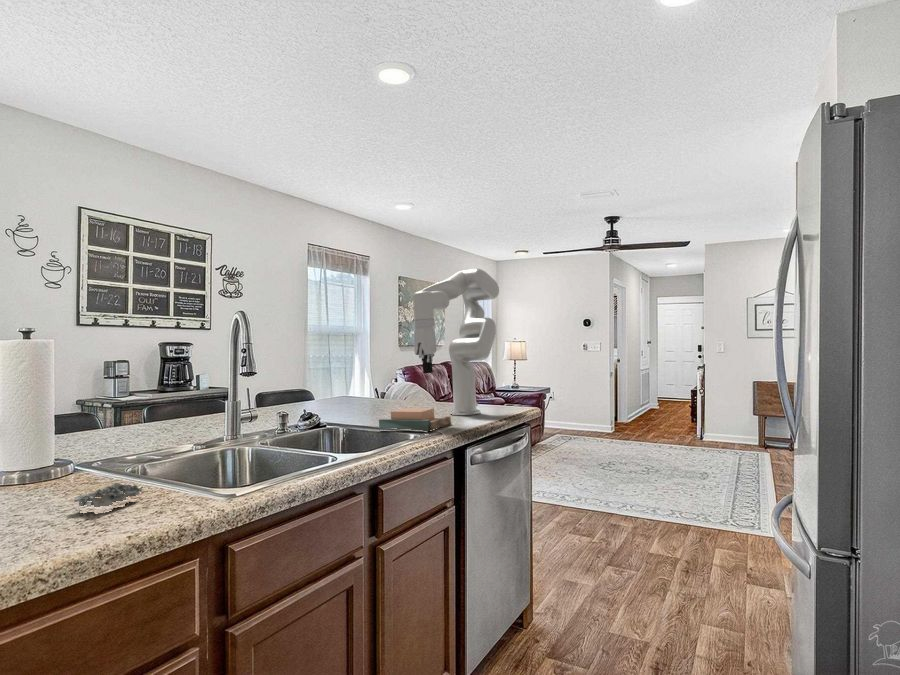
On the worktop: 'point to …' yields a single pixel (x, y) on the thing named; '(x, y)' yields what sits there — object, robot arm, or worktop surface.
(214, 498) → the worktop surface
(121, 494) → the grey rough flat piece
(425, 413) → the clay slab
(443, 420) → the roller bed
